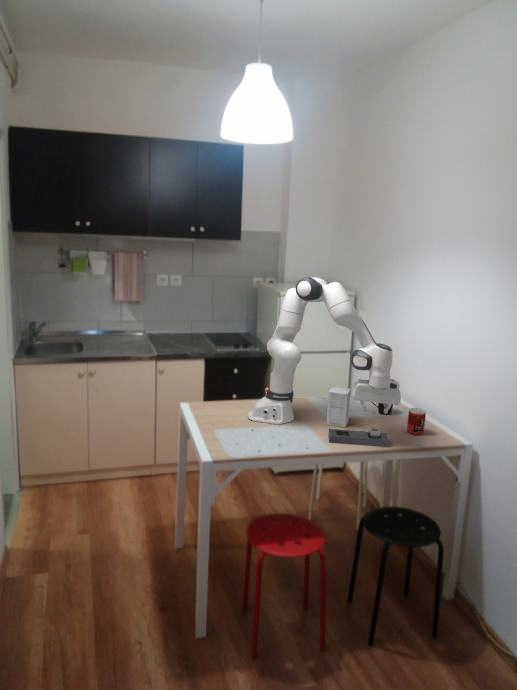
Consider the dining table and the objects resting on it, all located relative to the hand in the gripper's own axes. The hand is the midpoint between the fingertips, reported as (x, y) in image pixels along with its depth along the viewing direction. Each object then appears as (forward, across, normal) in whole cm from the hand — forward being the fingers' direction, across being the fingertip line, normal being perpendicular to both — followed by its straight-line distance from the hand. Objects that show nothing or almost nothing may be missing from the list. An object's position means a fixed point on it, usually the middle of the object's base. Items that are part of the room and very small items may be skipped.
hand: (374, 411), depth 251 cm
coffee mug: (+14, +9, +44) cm, 47 cm away
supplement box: (+15, -14, +22) cm, 30 cm away
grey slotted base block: (+15, -5, +1) cm, 16 cm away
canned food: (+14, +22, +18) cm, 32 cm away
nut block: (+14, +2, +1) cm, 15 cm away
